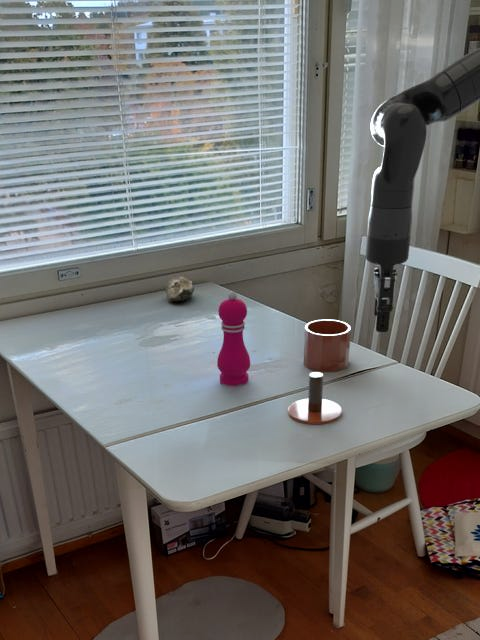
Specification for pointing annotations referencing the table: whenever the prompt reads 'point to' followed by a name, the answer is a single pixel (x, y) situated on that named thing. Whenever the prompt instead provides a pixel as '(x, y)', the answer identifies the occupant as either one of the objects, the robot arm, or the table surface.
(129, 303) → the table surface
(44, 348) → the table surface
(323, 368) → the pot
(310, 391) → the lid
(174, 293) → the fossilized seashell
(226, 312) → the pepper mill
